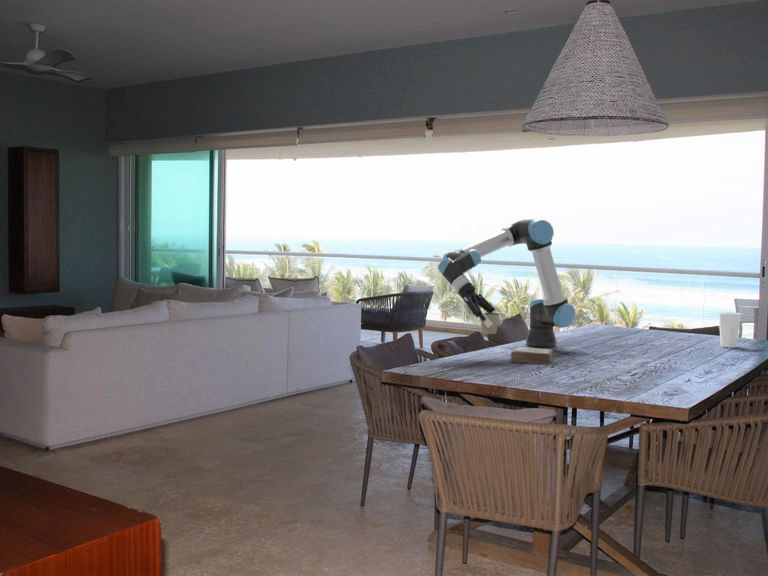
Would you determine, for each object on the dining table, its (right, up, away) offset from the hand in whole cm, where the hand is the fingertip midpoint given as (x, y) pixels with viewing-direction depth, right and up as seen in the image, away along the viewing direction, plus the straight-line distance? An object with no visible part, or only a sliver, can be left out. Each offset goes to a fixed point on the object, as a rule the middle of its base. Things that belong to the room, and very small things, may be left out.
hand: (495, 324), depth 346 cm
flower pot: (-3, -4, +2) cm, 5 cm away
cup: (+125, -14, +54) cm, 137 cm away
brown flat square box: (+15, -15, -3) cm, 22 cm away
